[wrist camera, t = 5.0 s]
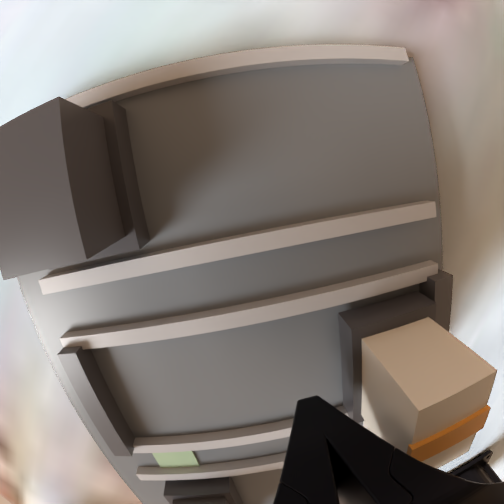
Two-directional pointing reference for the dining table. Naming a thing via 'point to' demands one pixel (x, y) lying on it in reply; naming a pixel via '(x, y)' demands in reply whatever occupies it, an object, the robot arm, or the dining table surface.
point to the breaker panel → (218, 249)
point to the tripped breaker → (413, 378)
